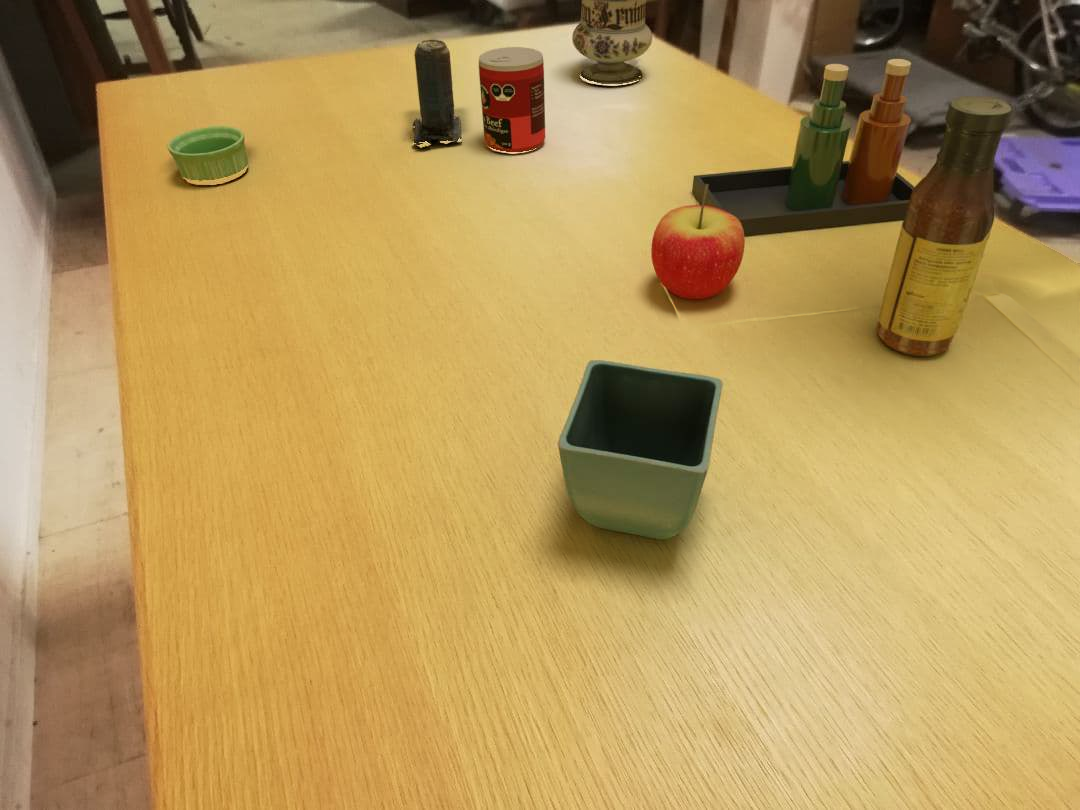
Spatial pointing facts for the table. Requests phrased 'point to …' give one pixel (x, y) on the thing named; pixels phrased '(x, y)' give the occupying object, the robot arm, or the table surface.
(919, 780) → the table surface
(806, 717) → the table surface
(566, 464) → the flower pot
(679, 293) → the apple
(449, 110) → the dark pillar on base
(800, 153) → the green bottle
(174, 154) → the ramekin
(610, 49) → the apothecary jar
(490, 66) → the canned food
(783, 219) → the tray
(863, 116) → the amber bottle
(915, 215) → the sauce bottle
